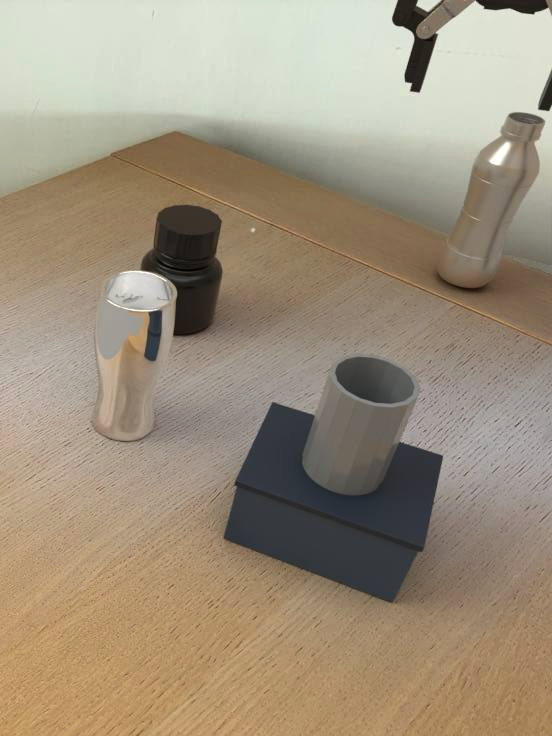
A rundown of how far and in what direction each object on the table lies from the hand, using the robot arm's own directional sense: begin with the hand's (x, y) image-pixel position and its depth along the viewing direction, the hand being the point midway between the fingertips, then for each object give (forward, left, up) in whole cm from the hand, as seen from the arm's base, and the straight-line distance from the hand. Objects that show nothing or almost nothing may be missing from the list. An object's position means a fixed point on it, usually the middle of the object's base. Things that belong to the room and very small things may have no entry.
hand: (477, 98), depth 60 cm
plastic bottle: (-6, -33, -32) cm, 46 cm away
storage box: (0, +15, -32) cm, 35 cm away
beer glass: (+20, +11, -32) cm, 39 cm away
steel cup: (0, +15, -25) cm, 29 cm away
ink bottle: (+22, -9, -32) cm, 40 cm away
